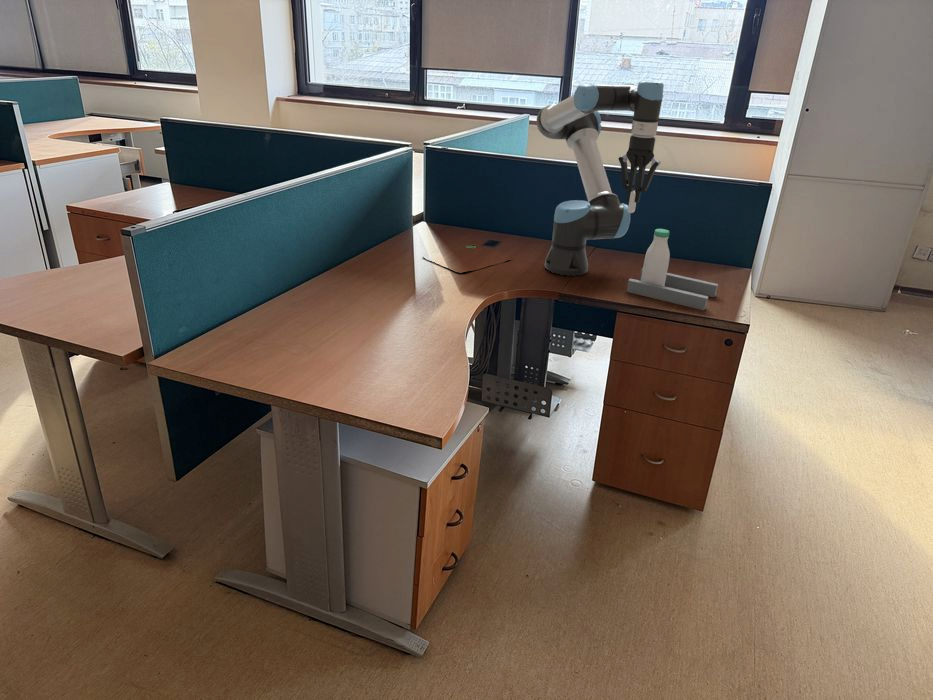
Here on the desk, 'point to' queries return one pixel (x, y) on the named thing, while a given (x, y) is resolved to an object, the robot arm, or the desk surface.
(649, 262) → the milk bottle
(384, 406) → the desk surface
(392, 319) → the desk surface
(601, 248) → the desk surface
